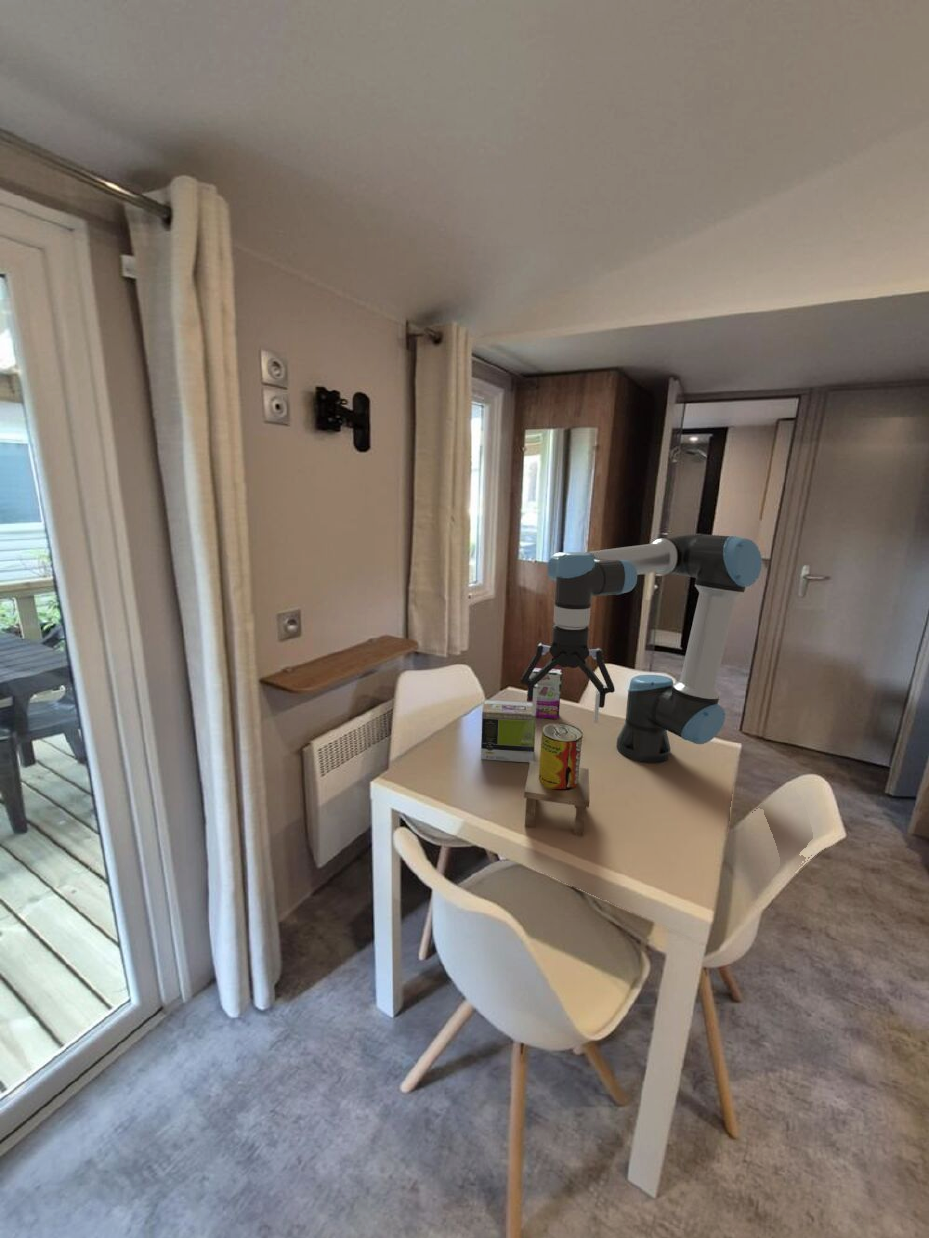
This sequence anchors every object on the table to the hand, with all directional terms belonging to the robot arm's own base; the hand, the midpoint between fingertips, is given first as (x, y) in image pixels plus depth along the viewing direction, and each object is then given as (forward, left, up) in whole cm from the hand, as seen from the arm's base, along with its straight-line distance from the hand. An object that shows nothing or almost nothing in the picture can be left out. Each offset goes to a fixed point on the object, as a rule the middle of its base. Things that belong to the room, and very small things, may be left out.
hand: (564, 716), depth 114 cm
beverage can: (0, 0, -16) cm, 16 cm away
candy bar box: (+7, -56, -25) cm, 61 cm away
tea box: (+15, -26, -25) cm, 39 cm away
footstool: (0, 0, -25) cm, 25 cm away
